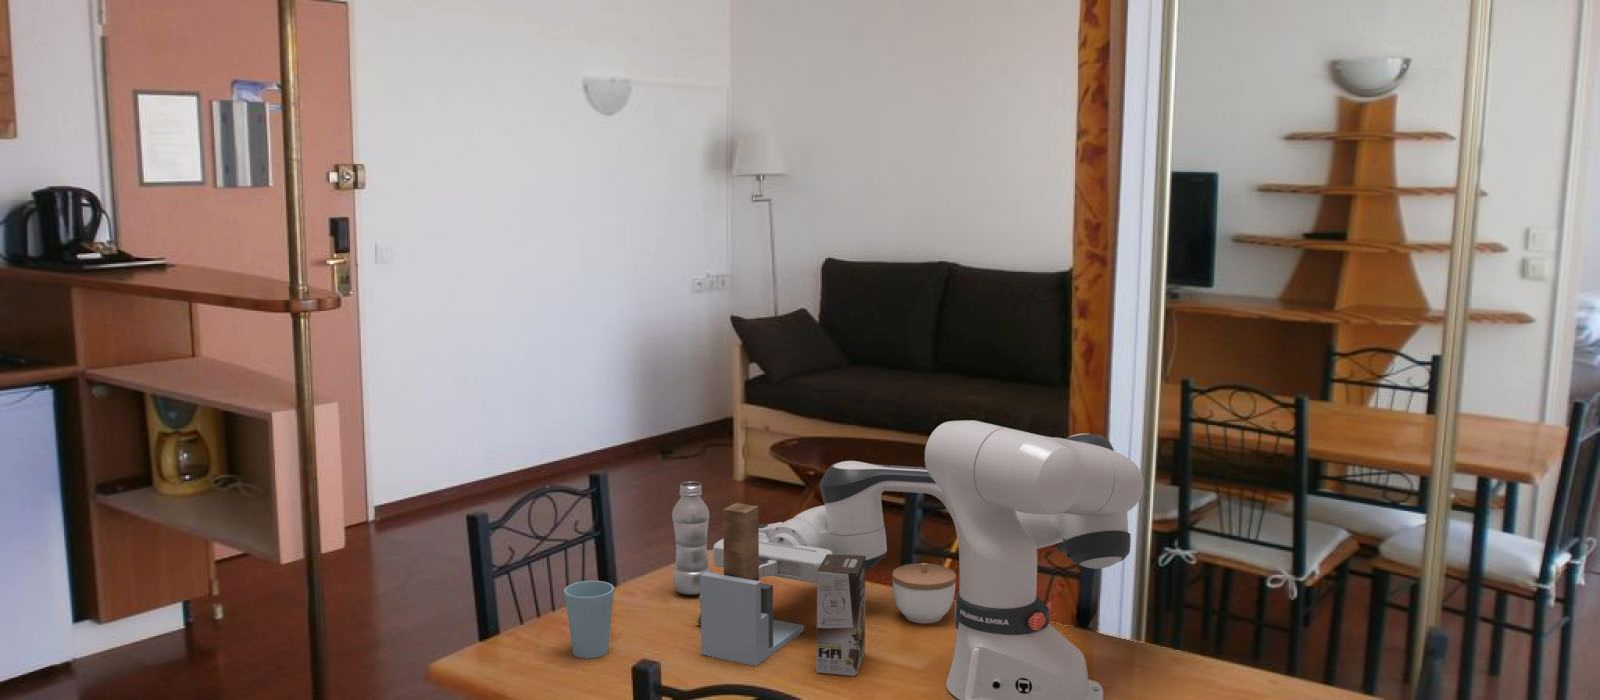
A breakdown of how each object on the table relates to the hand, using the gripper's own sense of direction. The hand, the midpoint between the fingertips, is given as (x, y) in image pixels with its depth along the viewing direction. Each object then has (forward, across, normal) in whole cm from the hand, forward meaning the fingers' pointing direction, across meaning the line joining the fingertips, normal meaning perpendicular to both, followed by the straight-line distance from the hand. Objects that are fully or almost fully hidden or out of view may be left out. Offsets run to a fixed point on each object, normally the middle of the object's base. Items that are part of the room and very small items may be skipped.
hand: (749, 573), depth 198 cm
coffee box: (0, -16, -12) cm, 20 cm away
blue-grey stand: (-1, 0, -12) cm, 12 cm away
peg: (+3, 0, -10) cm, 11 cm away
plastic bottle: (-16, +21, -12) cm, 29 cm away
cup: (+14, +21, -12) cm, 28 cm away
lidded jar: (-24, -20, -12) cm, 34 cm away
